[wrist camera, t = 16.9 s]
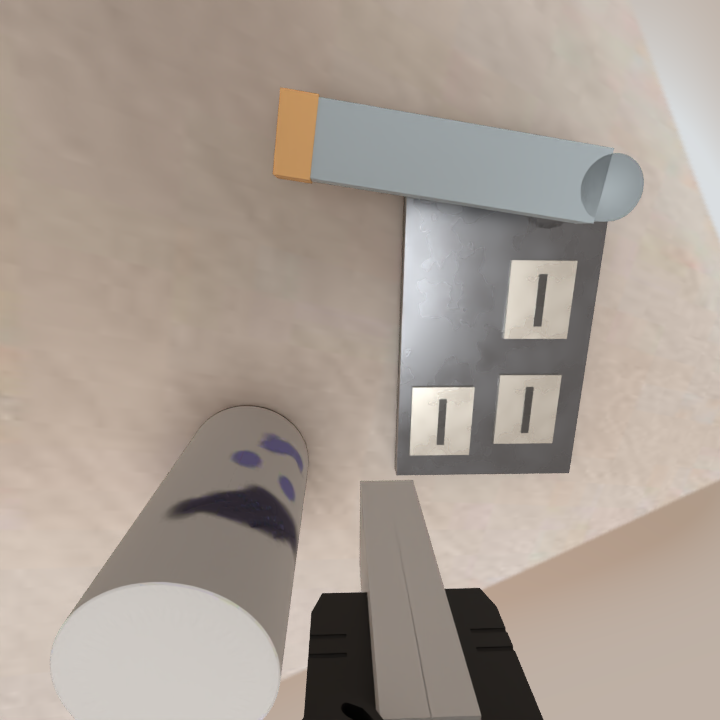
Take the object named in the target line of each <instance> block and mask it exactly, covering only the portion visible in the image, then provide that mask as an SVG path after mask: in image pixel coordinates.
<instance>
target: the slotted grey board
mask: <svg viewBox="0 0 720 720" xmlns="http://www.w3.org/2000/svg"><path fill="white" fill-rule="evenodd" d="M528 219H529V220H528ZM530 219H531V220H532V221H531V220H530ZM535 219H536V220H535ZM537 219H538V220H539V219H540V218H536V217H531V218H530V216H529V218H528V216H527V218H526V217H525V215H519V214H512V213H506V212H500V211H493V210H487V209H481V208H475V207H468V206H462V205H456V204H449V203H443V202H437V201H431V200H424V199H418V198H412V197H404V226H403V254H402V282H401V310H400V338H399V366H398V395H397V423H396V451H395V471H396V475H449V474H528V473H569V469H570V463H571V456H572V450H573V443H574V437H575V430H576V424H577V417H578V411H579V404H580V398H581V391H582V385H583V378H584V372H585V365H586V359H587V352H588V346H589V339H590V332H591V326H592V319H593V313H594V306H595V300H596V293H597V287H598V280H599V274H600V267H601V261H602V254H603V248H604V241H605V235H606V228H607V222H608V221H605V222H594V223H587V224H575V223H569V222H564V223H563V222H562V221H560V222H559V221H556V220H552V221H553V222H550V221H551V220H548V219H547V220H546V219H545V220H543V219H544V218H541V219H542V220H543V221H542V220H541V219H540V222H539V221H538V220H537ZM534 221H536V222H534ZM545 221H546V222H545ZM555 221H556V222H557V223H559V224H558V225H559V226H558V225H557V223H556V222H555ZM531 222H532V223H531ZM547 223H548V225H547ZM551 223H552V224H551ZM537 224H538V225H540V226H538V225H537ZM545 224H546V225H545ZM550 224H551V226H550ZM554 224H555V225H554ZM535 225H536V226H535ZM544 225H545V226H544ZM553 225H554V226H553ZM537 226H538V227H537ZM552 226H553V227H552ZM540 227H542V228H540ZM546 227H548V228H546Z"/></svg>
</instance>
